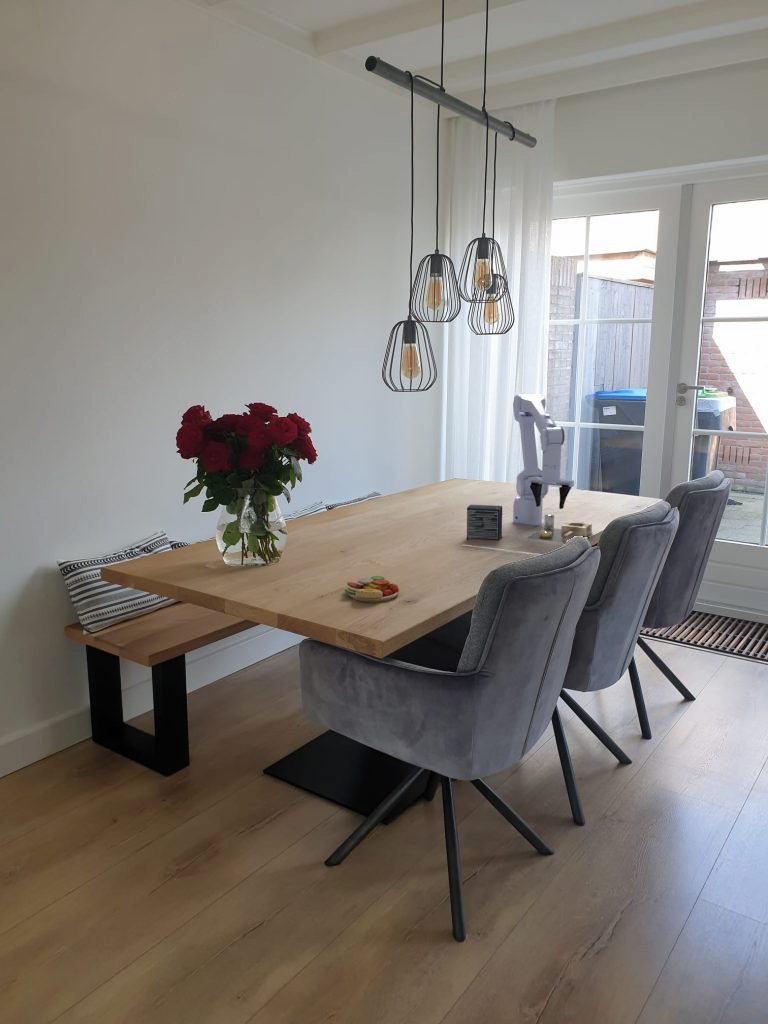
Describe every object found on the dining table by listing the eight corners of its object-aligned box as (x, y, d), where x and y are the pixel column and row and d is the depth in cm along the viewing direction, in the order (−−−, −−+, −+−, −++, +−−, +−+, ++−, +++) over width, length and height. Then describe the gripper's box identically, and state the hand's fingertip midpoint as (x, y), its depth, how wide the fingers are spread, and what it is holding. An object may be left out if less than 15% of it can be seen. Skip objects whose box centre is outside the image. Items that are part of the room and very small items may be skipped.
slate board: (526, 539, 258) (526, 537, 258) (544, 528, 272) (544, 527, 272) (573, 544, 250) (573, 543, 250) (589, 533, 265) (589, 532, 265)
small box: (502, 537, 261) (503, 505, 259) (499, 542, 254) (500, 509, 252) (469, 535, 263) (470, 503, 261) (466, 540, 257) (466, 507, 255)
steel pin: (542, 533, 263) (543, 515, 262) (545, 531, 266) (546, 513, 265) (551, 534, 262) (552, 516, 261) (554, 532, 264) (555, 514, 263)
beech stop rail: (562, 541, 252) (563, 535, 252) (569, 537, 258) (569, 531, 257) (566, 542, 252) (566, 535, 251) (572, 537, 257) (573, 531, 257)
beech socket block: (561, 534, 261) (561, 525, 261) (568, 530, 268) (568, 521, 267) (584, 537, 258) (585, 528, 257) (591, 532, 264) (591, 523, 264)
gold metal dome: (537, 537, 257) (537, 532, 257) (541, 535, 261) (541, 529, 261) (549, 539, 256) (549, 533, 255) (553, 536, 259) (554, 531, 259)
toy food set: (364, 607, 193) (364, 594, 192) (334, 594, 203) (334, 581, 203) (409, 597, 200) (409, 584, 200) (378, 584, 211) (378, 572, 210)
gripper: (525, 465, 259) (523, 507, 262) (569, 468, 252) (568, 511, 255) (532, 462, 265) (531, 503, 268) (576, 465, 258) (574, 507, 261)
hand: (549, 507), depth 262 cm, fingers open, 7 cm apart
